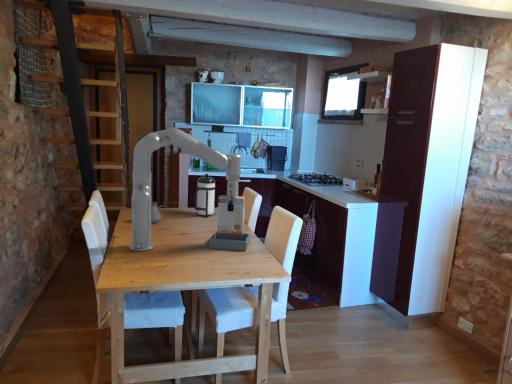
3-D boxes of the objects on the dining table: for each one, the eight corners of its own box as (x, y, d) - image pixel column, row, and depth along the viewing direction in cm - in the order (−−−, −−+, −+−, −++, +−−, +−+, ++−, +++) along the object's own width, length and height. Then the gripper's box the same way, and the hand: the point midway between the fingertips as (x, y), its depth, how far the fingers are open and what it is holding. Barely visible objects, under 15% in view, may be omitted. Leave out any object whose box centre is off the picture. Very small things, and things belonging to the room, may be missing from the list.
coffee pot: (141, 223, 253) (141, 200, 251) (145, 219, 265) (146, 197, 262) (174, 225, 254) (175, 202, 251) (178, 221, 265) (178, 199, 262)
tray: (245, 251, 213) (246, 242, 212) (208, 247, 215) (209, 238, 214) (249, 242, 228) (249, 233, 227) (215, 239, 230) (215, 230, 229)
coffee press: (192, 212, 290) (193, 171, 285) (214, 212, 293) (216, 172, 288) (193, 218, 273) (194, 175, 268) (216, 218, 276) (218, 176, 271)
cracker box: (243, 232, 223) (245, 196, 219) (242, 236, 217) (244, 198, 213) (219, 231, 224) (220, 194, 220) (217, 234, 218) (218, 196, 214)
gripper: (237, 180, 206) (235, 214, 209) (242, 175, 223) (240, 207, 226) (222, 179, 207) (221, 212, 210) (228, 174, 223) (227, 206, 227)
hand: (231, 209), depth 218 cm, fingers closed on cracker box, 5 cm apart
